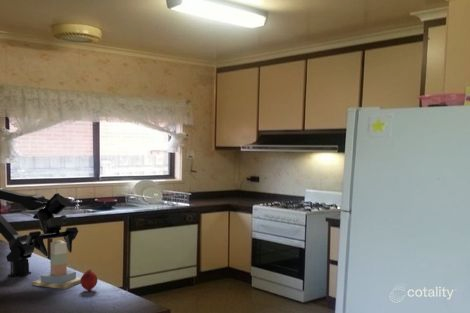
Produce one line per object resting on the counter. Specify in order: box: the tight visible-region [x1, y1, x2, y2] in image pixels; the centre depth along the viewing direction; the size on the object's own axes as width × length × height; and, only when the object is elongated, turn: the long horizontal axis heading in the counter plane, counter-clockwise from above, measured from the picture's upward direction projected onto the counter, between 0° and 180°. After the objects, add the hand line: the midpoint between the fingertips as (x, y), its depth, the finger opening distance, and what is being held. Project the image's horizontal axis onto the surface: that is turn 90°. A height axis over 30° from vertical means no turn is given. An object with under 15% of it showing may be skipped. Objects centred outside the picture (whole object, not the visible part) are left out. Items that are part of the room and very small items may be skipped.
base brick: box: [40, 270, 77, 284], centre depth 180 cm, size 9×9×2 cm
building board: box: [31, 276, 82, 290], centre depth 180 cm, size 15×11×1 cm
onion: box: [80, 268, 98, 292], centre depth 170 cm, size 6×6×8 cm
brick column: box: [49, 239, 68, 276], centre depth 179 cm, size 4×4×13 cm
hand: (59, 253), depth 179 cm, fingers open, 9 cm apart
